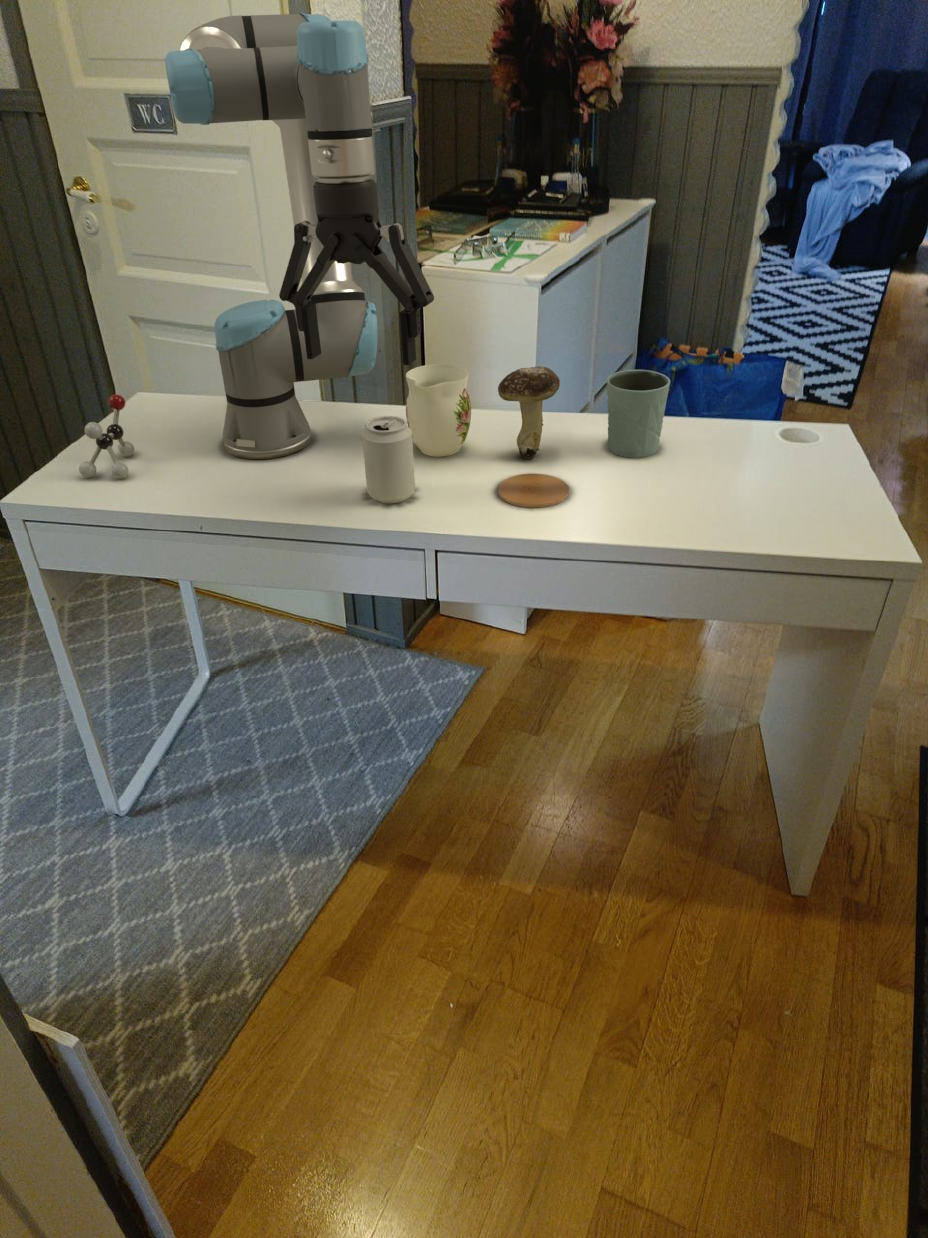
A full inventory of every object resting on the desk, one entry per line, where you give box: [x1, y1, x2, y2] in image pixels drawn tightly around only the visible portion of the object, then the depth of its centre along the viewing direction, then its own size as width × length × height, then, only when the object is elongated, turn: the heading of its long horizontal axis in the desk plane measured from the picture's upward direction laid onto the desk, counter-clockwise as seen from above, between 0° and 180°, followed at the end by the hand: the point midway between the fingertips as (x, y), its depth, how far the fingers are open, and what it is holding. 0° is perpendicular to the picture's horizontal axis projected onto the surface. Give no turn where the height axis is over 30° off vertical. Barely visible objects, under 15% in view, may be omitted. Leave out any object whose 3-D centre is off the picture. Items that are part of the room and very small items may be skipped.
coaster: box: [497, 473, 570, 509], centre depth 137 cm, size 11×11×1 cm
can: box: [361, 415, 416, 504], centre depth 134 cm, size 8×8×12 cm
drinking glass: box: [606, 369, 671, 459], centre depth 147 cm, size 10×10×12 cm
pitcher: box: [405, 363, 472, 458], centre depth 149 cm, size 11×18×14 cm, turn 165°
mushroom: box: [497, 366, 561, 460], centre depth 144 cm, size 9×9×15 cm
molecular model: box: [78, 393, 135, 480], centre depth 146 cm, size 8×12×11 cm
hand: (361, 359), depth 115 cm, fingers open, 13 cm apart
